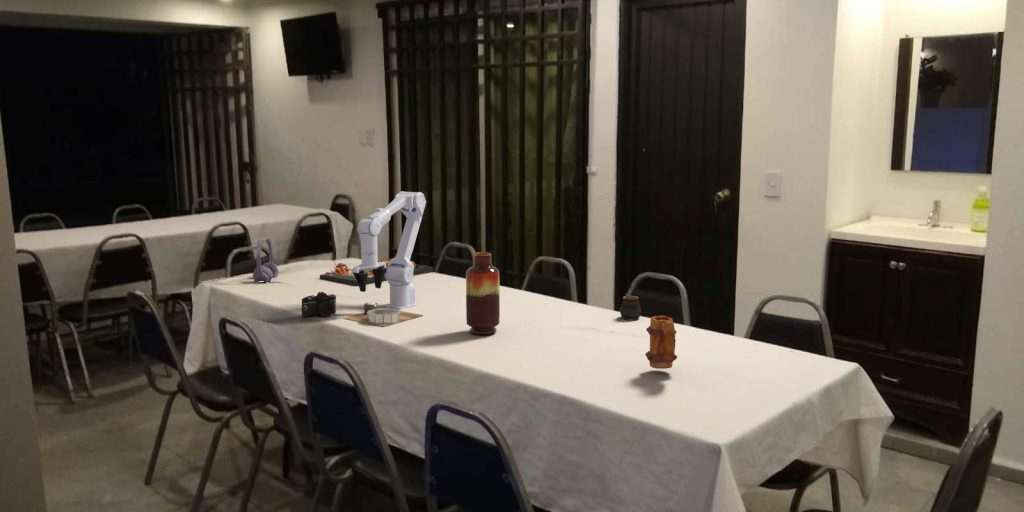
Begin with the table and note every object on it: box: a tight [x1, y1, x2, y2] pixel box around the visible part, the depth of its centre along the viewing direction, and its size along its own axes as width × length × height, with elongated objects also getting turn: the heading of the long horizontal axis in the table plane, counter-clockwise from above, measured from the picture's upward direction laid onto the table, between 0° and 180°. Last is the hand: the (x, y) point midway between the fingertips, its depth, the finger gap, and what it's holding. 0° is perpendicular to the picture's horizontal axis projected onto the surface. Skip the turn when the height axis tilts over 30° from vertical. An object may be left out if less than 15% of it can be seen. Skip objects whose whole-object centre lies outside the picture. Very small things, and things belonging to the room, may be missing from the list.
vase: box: [465, 251, 501, 335], centre depth 272 cm, size 11×11×26 cm
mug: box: [645, 315, 678, 370], centre depth 229 cm, size 15×8×15 cm, turn 5°
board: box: [342, 310, 424, 328], centre depth 293 cm, size 20×20×1 cm
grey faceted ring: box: [367, 307, 401, 324], centre depth 287 cm, size 11×11×3 cm
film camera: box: [301, 291, 338, 318], centre depth 293 cm, size 13×8×10 cm, turn 130°
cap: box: [363, 302, 379, 315], centre depth 298 cm, size 5×5×4 cm
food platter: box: [319, 257, 434, 287], centre depth 365 cm, size 45×25×10 cm, turn 142°
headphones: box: [252, 237, 279, 283], centre depth 357 cm, size 18×8×20 cm, turn 179°
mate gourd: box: [619, 293, 642, 320], centre depth 289 cm, size 7×8×10 cm
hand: (370, 289), depth 297 cm, fingers open, 7 cm apart
